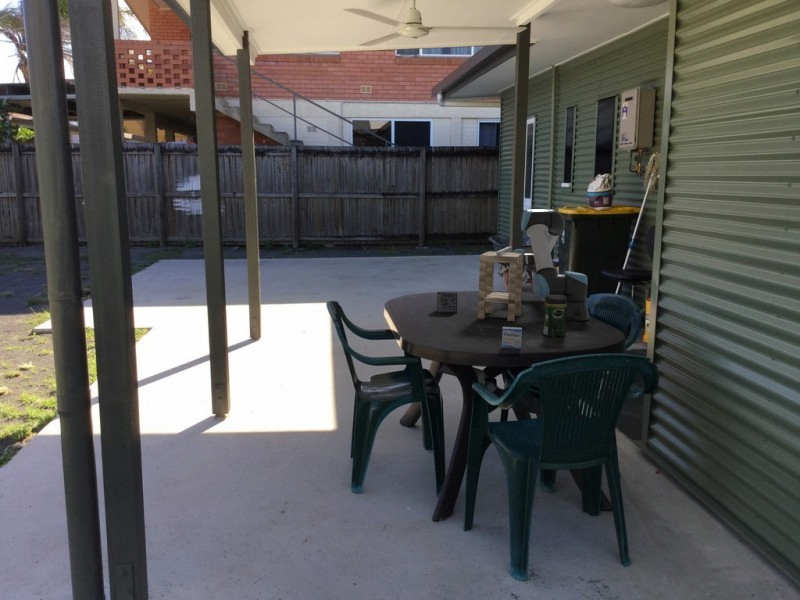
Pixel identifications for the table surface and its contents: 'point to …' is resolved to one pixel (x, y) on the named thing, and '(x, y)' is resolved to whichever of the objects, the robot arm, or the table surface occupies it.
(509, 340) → the medicine box
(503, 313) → the table surface
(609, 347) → the table surface
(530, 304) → the table surface
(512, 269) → the shelf stand
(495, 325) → the table surface
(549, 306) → the coffee jar
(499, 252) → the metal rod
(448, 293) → the small box
